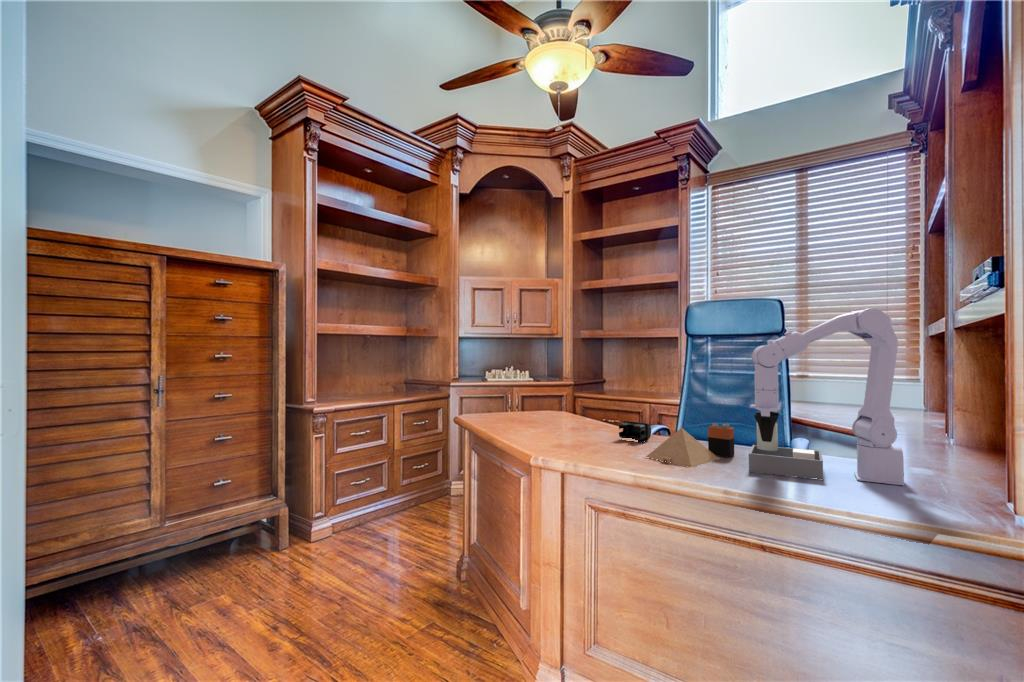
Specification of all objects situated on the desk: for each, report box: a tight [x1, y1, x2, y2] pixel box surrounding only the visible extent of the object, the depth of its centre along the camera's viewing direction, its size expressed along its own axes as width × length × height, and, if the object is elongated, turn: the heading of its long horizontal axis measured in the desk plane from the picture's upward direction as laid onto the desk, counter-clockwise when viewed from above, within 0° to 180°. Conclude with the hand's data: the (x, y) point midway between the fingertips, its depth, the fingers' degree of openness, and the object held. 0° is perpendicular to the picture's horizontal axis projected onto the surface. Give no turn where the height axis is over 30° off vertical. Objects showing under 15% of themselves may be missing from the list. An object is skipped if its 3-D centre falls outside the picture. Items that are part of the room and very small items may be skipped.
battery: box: [707, 422, 735, 459], centre depth 151 cm, size 4×7×10 cm, turn 44°
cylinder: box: [756, 422, 779, 451], centre depth 128 cm, size 5×5×7 cm
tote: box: [748, 444, 824, 480], centre depth 132 cm, size 17×13×5 cm
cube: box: [793, 448, 815, 460], centre depth 130 cm, size 5×5×5 cm
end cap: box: [618, 420, 652, 443], centre depth 176 cm, size 10×7×7 cm
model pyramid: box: [645, 427, 720, 468], centre depth 147 cm, size 17×17×10 cm
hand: (767, 439), depth 128 cm, fingers closed on cylinder, 5 cm apart
